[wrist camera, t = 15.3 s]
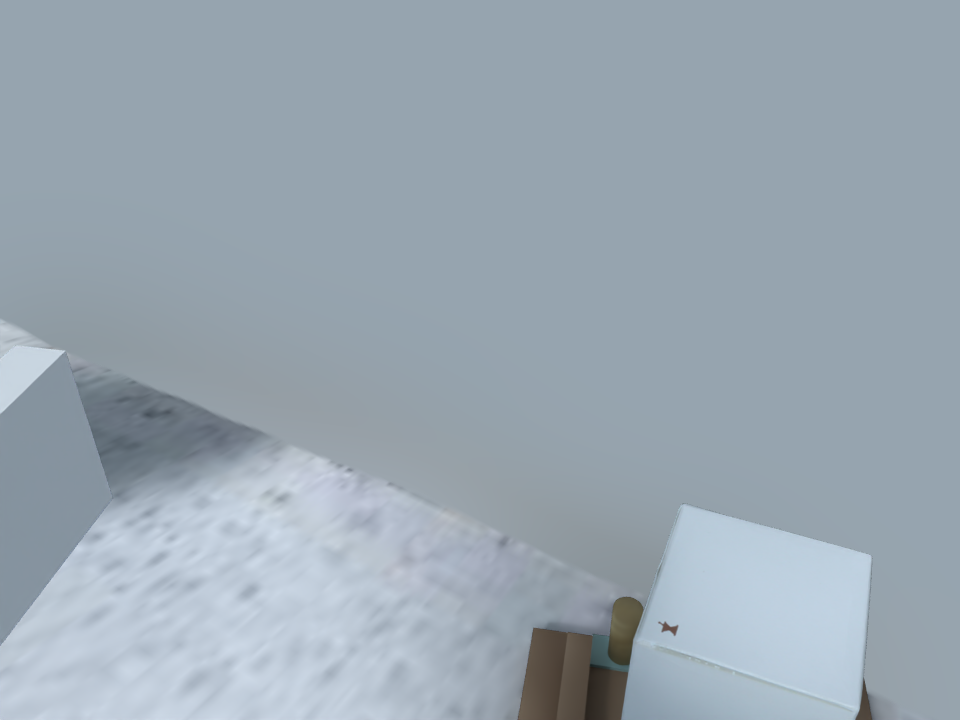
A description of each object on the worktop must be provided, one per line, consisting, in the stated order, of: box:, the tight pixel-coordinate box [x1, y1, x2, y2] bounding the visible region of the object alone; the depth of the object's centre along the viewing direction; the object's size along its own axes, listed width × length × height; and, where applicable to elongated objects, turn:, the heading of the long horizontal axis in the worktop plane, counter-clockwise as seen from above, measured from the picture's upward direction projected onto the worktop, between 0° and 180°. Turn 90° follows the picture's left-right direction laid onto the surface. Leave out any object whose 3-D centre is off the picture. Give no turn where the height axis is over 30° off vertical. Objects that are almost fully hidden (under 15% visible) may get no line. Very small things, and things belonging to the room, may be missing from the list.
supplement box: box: [621, 503, 872, 720], centre depth 34 cm, size 7×7×13 cm
